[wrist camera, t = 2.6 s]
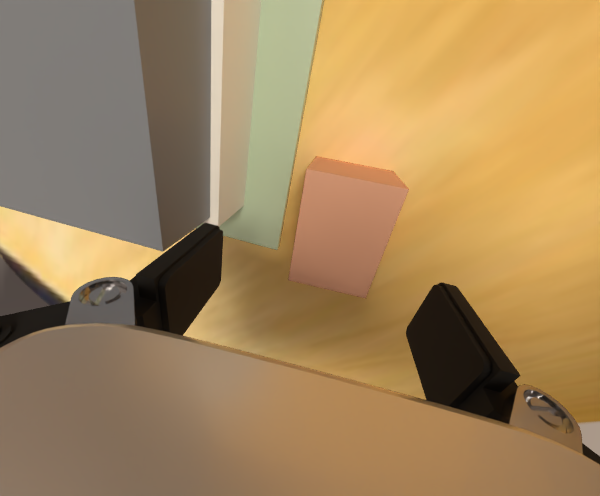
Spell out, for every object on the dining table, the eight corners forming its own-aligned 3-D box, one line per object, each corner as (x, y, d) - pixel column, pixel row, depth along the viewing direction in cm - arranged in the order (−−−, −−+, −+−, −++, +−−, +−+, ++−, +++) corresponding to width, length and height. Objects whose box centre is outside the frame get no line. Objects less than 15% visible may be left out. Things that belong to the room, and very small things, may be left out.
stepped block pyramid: (344, -111, 10) (335, -779, 3) (279, 246, 19) (235, 328, 12) (-34, -182, 11) (-849, -823, 3) (76, 191, 20) (-84, 235, 13)
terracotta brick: (392, 170, 15) (408, 189, 11) (361, 260, 19) (365, 298, 15) (316, 156, 15) (306, 169, 12) (300, 246, 19) (288, 280, 15)
